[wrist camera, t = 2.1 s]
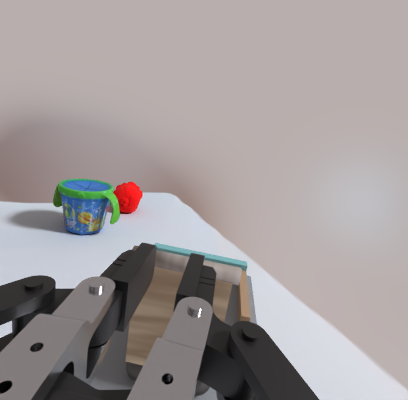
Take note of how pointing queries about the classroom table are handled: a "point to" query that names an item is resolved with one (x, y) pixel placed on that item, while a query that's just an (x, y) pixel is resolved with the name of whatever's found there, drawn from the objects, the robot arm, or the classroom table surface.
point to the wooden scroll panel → (170, 307)
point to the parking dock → (116, 354)
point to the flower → (128, 197)
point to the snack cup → (85, 204)
